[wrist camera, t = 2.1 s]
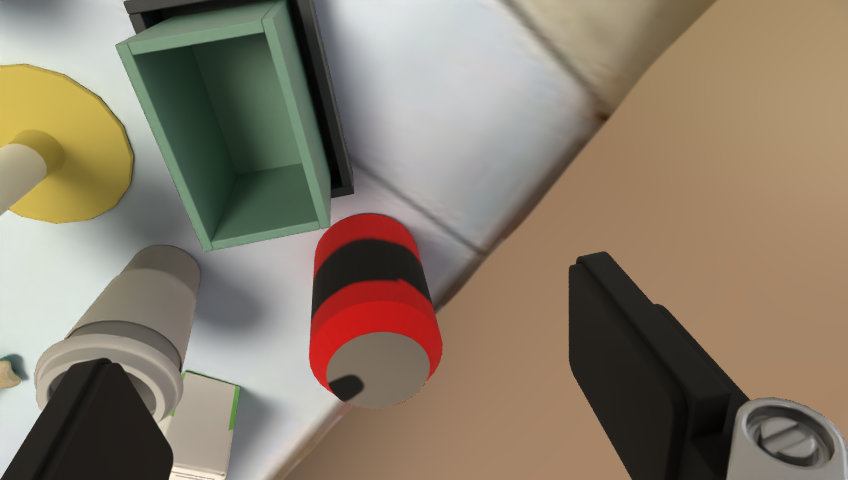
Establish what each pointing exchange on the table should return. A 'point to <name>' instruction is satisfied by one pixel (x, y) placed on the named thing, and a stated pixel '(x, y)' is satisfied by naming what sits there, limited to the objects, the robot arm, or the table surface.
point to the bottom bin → (157, 3)
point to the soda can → (371, 314)
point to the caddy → (235, 120)
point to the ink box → (201, 428)
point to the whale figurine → (8, 375)
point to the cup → (135, 329)
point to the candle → (58, 148)
